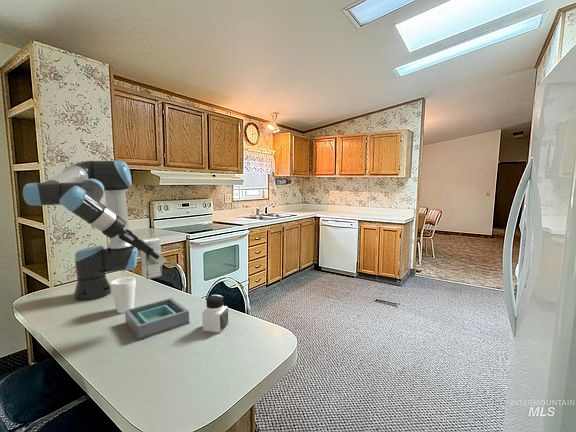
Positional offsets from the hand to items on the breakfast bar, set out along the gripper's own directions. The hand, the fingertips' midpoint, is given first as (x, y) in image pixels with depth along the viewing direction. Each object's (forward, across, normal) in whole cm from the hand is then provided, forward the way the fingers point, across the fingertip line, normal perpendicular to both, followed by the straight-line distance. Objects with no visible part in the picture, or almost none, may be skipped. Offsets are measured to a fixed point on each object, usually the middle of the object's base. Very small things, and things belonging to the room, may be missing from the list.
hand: (161, 260), depth 115 cm
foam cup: (+11, -22, -24) cm, 34 cm away
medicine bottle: (+26, +19, -9) cm, 33 cm away
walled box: (+15, 0, -19) cm, 24 cm away
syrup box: (+1, 0, -7) cm, 7 cm away
